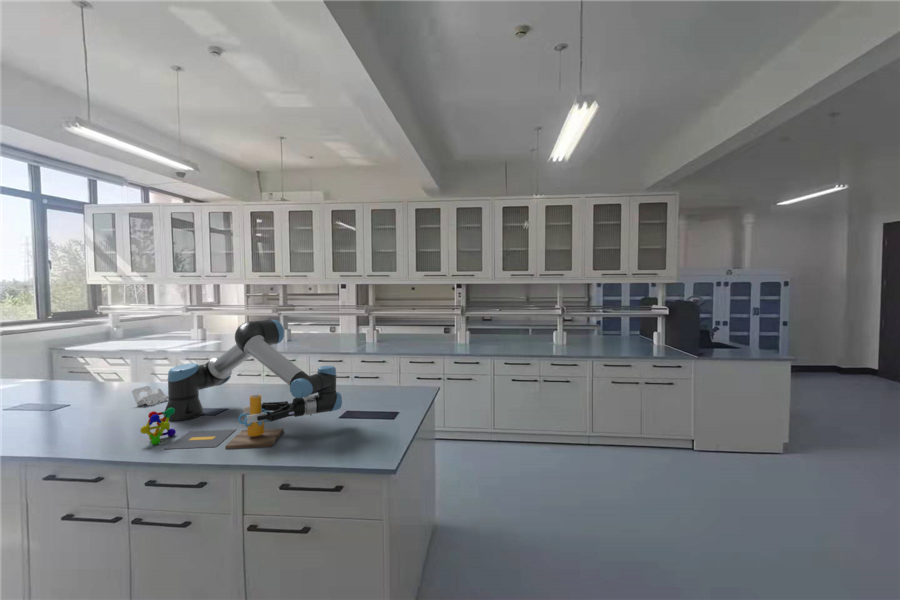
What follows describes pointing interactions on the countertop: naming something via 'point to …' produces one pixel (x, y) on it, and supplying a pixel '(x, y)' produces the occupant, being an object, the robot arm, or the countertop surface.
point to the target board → (255, 439)
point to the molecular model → (161, 424)
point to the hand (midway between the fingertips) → (245, 414)
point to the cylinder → (255, 408)
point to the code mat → (200, 439)
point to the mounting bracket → (149, 396)
